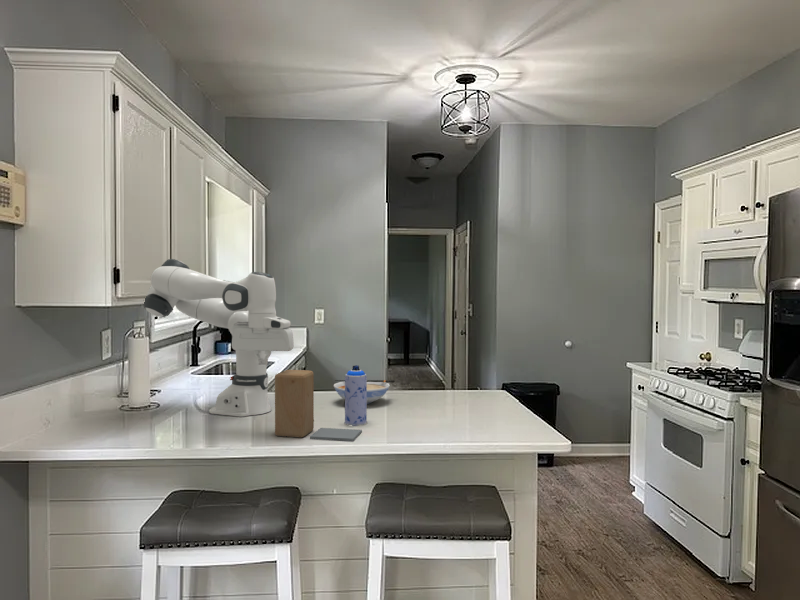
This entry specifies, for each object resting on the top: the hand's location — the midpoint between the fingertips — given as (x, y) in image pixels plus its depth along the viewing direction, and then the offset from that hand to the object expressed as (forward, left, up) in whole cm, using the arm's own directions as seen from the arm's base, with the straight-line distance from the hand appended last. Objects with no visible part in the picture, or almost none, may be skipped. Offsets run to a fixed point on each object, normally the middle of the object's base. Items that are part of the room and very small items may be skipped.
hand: (262, 364), depth 190 cm
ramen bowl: (+21, +50, -22) cm, 59 cm away
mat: (+25, 0, -22) cm, 33 cm away
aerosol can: (+27, +17, -22) cm, 39 cm away
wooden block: (+11, 0, -22) cm, 25 cm away
